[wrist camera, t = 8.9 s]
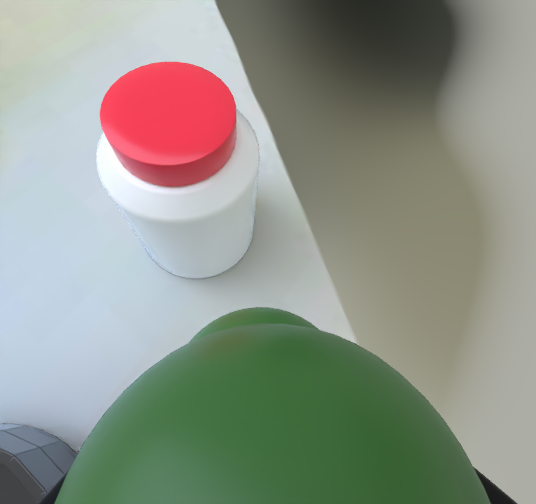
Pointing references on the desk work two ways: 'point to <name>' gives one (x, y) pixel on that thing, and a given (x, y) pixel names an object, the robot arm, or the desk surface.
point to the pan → (30, 463)
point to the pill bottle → (180, 166)
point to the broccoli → (271, 427)
